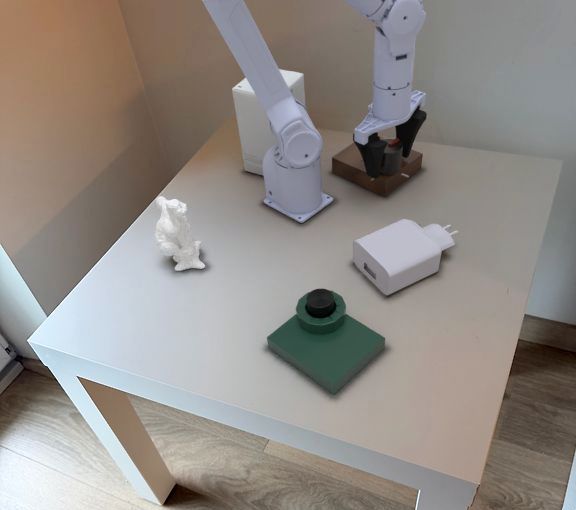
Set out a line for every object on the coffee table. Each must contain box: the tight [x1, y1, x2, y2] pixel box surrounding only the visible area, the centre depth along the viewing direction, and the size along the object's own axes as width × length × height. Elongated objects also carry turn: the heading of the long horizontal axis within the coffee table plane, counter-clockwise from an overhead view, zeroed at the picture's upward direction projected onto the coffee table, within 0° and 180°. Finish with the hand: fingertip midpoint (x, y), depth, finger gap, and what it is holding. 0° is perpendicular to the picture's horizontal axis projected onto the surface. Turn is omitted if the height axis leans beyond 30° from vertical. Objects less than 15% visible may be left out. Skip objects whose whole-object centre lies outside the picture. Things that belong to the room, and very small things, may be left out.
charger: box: [352, 218, 459, 296], centre depth 79 cm, size 5×9×15 cm
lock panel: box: [331, 136, 424, 198], centre depth 93 cm, size 14×11×3 cm
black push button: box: [306, 287, 334, 319], centre depth 71 cm, size 4×4×2 cm
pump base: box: [266, 289, 386, 395], centre depth 71 cm, size 12×11×4 cm
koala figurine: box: [154, 195, 206, 272], centre depth 81 cm, size 8×7×12 cm
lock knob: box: [380, 137, 403, 176], centre depth 89 cm, size 4×4×4 cm
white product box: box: [231, 68, 306, 177], centre depth 94 cm, size 9×9×15 cm
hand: (387, 165), depth 90 cm, fingers open, 7 cm apart
